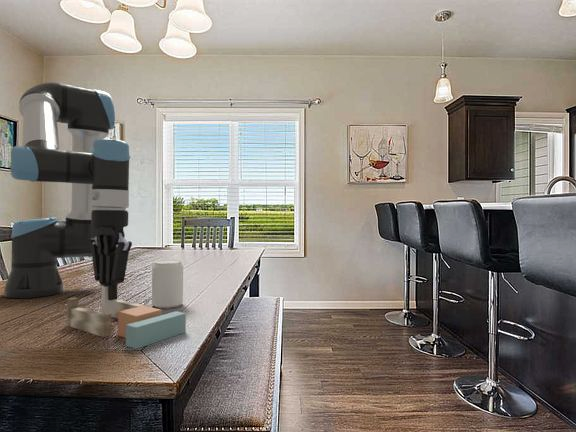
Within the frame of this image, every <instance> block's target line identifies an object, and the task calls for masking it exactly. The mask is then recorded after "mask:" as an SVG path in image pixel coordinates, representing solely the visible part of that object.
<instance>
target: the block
mask: <svg viewBox="0 0 576 432" xmlns="http://www.w3.org/2000/svg"><path fill="white" fill-rule="evenodd" d="M147 306H148V305H146V306H140V307H135V308H131V309H127V310H123V311H118V319H117V336H119V337H123V338H125V339H126V325H127V324H131V323H135V322H138V321H142V320H146V319H149V318H153V317H157V316H160V315H162V309H161V308H157V307H152V306H150V307H147Z"/></svg>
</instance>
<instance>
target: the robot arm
mask: <svg viewBox="0 0 576 432" xmlns="http://www.w3.org/2000/svg"><path fill="white" fill-rule="evenodd" d="M18 109H19V112H20V115H21V116H22V117H23V118H22V145H15V146H13V147H11V149H10V175H11V177H12V179H14V180H17V181H28V182H32V183H34V182H43V183H44V182H45V183H46V182H47V183H66V184H69V183H70V184H71V206H70V207H71V210H70V212H69V213H67V214H66V215H65V221H59V219H58V217H57V216H55V217H54V216H53V217H42V218H33V219H26V220H25V219H23V220H18V221H15V222H13V224H12V227H11V228H12V229H11V235H10V239H11V259H10V260H11V266H10V267H11V268H10V272H9V275H8V276H7V277H8V278H7V280H6V282H5V285H4V288H3V297H4V298H8V299H29V298H30V299H31V298H40V297H48V296H53V295H56V294H59V293H63V291H64V282H63V279H62V277H61V274H60V271H59V269H58V259H64V258H83V257H84V258H86V257H87V258H92V266H93V274H94V275H93V276H94V280H95V281H97V282H98V283H99V285H100V286H101V287H100V288H101V289H100V292H101V293H100V299H101V301H100V304H101V305H100V313H102V314H106V315H109V314H113V313H116V299H118V285H119V284H123V283H125V279H126V271H127V266H128V260H129V254H130V250H131V248H132V246H133V243H132V241H130V240H129V241H127V240H126V239H125V235H126V234H125V231H124V230H125V229H124V228H126V227H127V226H129V211H128V210H127V209H128V208H129V206H130V196H129V195H130V191H129V184H130V159H131V156H130V146H129V144H128V143H127V142H126V141H125V140H120V139H115V138H106V137H107V136H109V135H110V134H109V133H110V130H114V129H115V126H116V125H115V121H116V115H115V114H116V113H115V106H114V101H113V98H112V96H111V95H110V94H109V93H108V92H106V91H103V90H97V89H96V88H88V87H82V86H76V85H71V84H66V83H65V84H64V83H61V82H50V81H49V82H44V83H40V84H37V85H34V86H31V87H30V88H29V89H27V90H26V91H25V92H24V93H23V94H22V96H21V97H20V99H19V105H18ZM58 123H62V124H67V131H68V132H69V133H70V134H71V135H72V150H64V149H63V150H62V149H60V141H59V132H58V129H59V128H58Z"/></svg>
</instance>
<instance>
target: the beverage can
mask: <svg viewBox="0 0 576 432" xmlns="http://www.w3.org/2000/svg"><path fill="white" fill-rule="evenodd" d="M182 304H184V264H183V263H182V260H176V259H173V260H171V259H166V260H164V259H163V260H157V261H154V263H153V265H152V269H151V305H152V306H153V307H155V308H156V309H171V308H177V307H179V306H180V305H182Z"/></svg>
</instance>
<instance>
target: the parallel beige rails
mask: <svg viewBox="0 0 576 432" xmlns="http://www.w3.org/2000/svg"><path fill="white" fill-rule="evenodd" d="M140 306H147V307H151V306H149V305H145V304H140V303H136V302H132V301H131V302H130V301H127V300H123V299H118V298H117V299H116V313H113V314H109V315H106V314H102V313H101V312H98V311H93V310H90V309H86V308H83V307H79V297H69V298H67V317H66V318H67V321H66V322H67V327H71V328H74V329H77V330H81V331H82V332H86V333H89V334H93V335H96V336H99V337H101V338H107V337H110V336H111V335H112V318H114V319H117V320H118V311H123V310H127V309H131V308H135V307H140Z"/></svg>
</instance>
